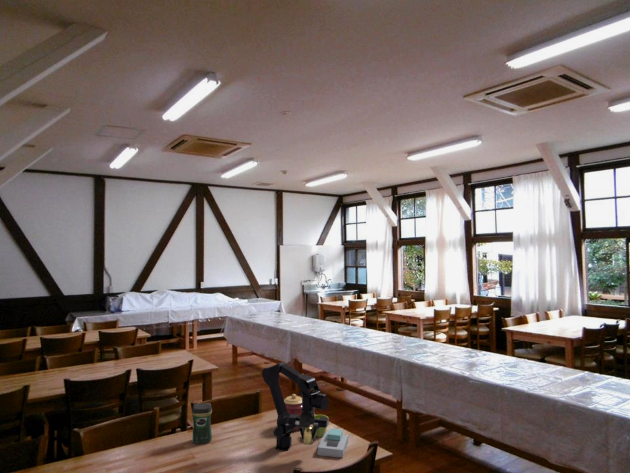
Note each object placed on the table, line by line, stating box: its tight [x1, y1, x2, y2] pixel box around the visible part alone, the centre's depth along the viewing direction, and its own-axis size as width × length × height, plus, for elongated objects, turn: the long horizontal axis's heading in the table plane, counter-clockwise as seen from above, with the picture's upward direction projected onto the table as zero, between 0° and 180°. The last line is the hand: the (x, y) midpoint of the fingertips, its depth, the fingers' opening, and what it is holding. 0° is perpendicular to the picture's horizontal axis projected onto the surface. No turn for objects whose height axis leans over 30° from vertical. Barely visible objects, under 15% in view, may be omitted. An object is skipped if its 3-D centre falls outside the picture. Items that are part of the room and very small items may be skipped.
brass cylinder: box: [302, 425, 314, 446], centre depth 201 cm, size 4×4×7 cm
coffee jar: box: [191, 402, 213, 445], centre depth 218 cm, size 10×8×19 cm
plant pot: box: [311, 414, 330, 438], centre depth 225 cm, size 9×9×9 cm
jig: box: [317, 432, 350, 459], centre depth 210 cm, size 12×17×4 cm
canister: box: [283, 393, 302, 432], centre depth 236 cm, size 13×13×18 cm
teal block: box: [327, 428, 344, 441], centre depth 213 cm, size 6×7×2 cm
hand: (308, 439), depth 201 cm, fingers closed on brass cylinder, 4 cm apart
